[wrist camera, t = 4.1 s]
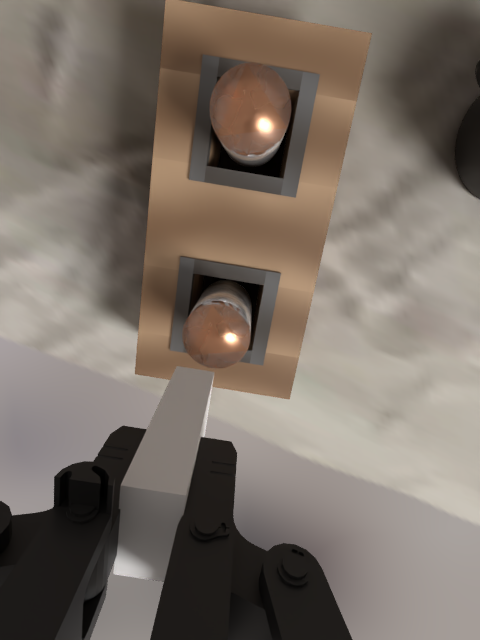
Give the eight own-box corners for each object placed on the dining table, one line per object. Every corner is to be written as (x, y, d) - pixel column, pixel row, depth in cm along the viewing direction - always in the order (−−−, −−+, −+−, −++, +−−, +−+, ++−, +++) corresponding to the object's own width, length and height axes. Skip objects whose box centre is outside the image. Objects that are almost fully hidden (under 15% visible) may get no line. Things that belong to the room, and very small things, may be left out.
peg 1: (226, 96, 24) (215, 55, 18) (287, 106, 24) (298, 69, 18) (218, 162, 26) (204, 147, 19) (275, 171, 26) (282, 160, 19)
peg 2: (203, 276, 28) (186, 298, 21) (255, 285, 28) (255, 310, 21) (196, 326, 29) (178, 362, 22) (247, 334, 29) (244, 373, 22)
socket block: (187, 46, 28) (164, -4, 21) (344, 73, 28) (372, 31, 21) (157, 341, 35) (134, 375, 28) (283, 362, 35) (289, 400, 28)
